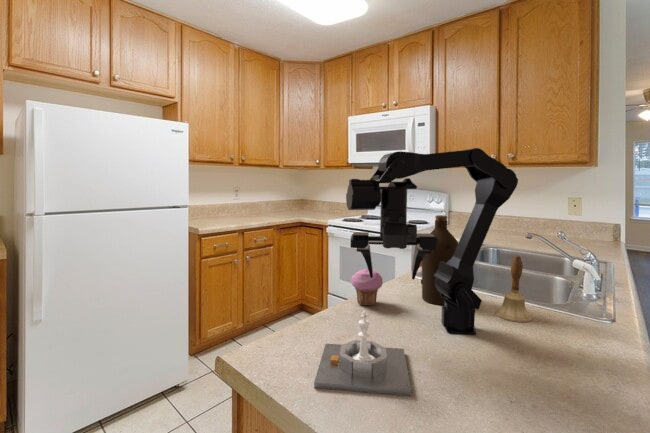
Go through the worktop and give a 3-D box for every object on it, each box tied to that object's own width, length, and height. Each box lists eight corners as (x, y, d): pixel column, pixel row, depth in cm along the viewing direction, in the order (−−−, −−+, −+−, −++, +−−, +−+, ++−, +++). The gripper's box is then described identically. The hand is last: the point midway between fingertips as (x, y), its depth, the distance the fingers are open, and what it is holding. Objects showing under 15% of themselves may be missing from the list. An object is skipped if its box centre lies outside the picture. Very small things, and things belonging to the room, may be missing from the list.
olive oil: (465, 300, 100) (468, 216, 97) (443, 309, 93) (446, 218, 91) (433, 291, 108) (436, 213, 106) (412, 298, 102) (414, 215, 99)
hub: (403, 353, 69) (403, 336, 69) (410, 395, 55) (411, 375, 55) (325, 348, 72) (325, 332, 71) (314, 387, 58) (314, 368, 57)
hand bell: (534, 315, 89) (538, 255, 88) (528, 325, 83) (532, 261, 81) (499, 307, 94) (502, 251, 93) (491, 316, 88) (494, 256, 87)
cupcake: (351, 308, 94) (351, 273, 93) (350, 298, 102) (351, 265, 101) (384, 309, 93) (384, 273, 92) (380, 298, 102) (381, 265, 101)
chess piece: (382, 365, 63) (383, 313, 62) (362, 373, 60) (362, 319, 59) (364, 354, 67) (365, 305, 66) (344, 361, 64) (345, 310, 63)
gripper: (348, 212, 69) (348, 287, 70) (444, 213, 66) (442, 291, 68) (352, 208, 80) (351, 273, 81) (434, 209, 77) (432, 276, 79)
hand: (392, 278), depth 77 cm, fingers open, 9 cm apart
